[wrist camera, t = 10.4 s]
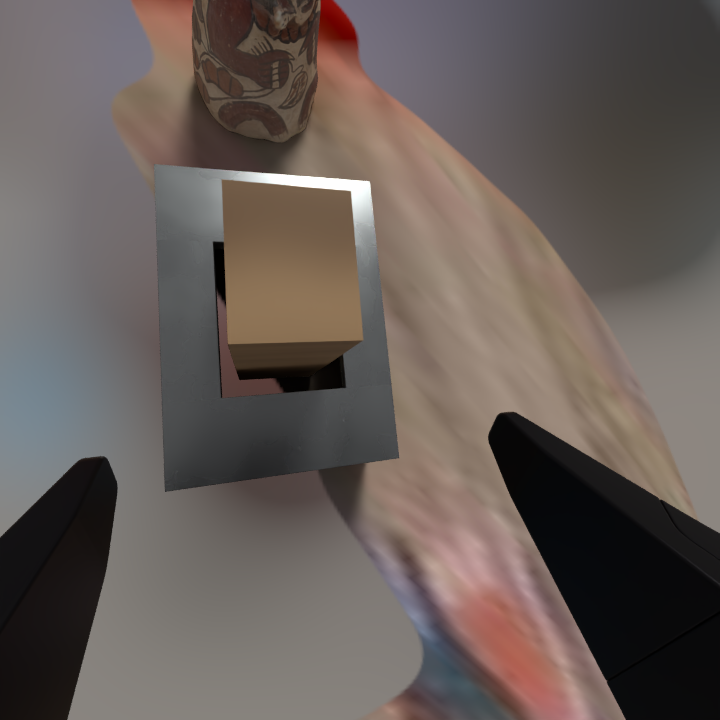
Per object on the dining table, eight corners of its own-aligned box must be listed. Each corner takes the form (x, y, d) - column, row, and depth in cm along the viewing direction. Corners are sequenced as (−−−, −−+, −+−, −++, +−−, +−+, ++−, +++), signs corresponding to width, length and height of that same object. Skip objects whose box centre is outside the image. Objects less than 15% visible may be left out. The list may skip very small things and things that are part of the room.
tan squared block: (310, 376, 22) (363, 340, 12) (239, 379, 21) (227, 344, 11) (305, 294, 23) (350, 190, 12) (235, 293, 22) (221, 179, 11)
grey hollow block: (368, 449, 22) (399, 457, 18) (186, 473, 20) (164, 491, 15) (346, 227, 24) (369, 181, 19) (175, 220, 21) (154, 163, 17)
